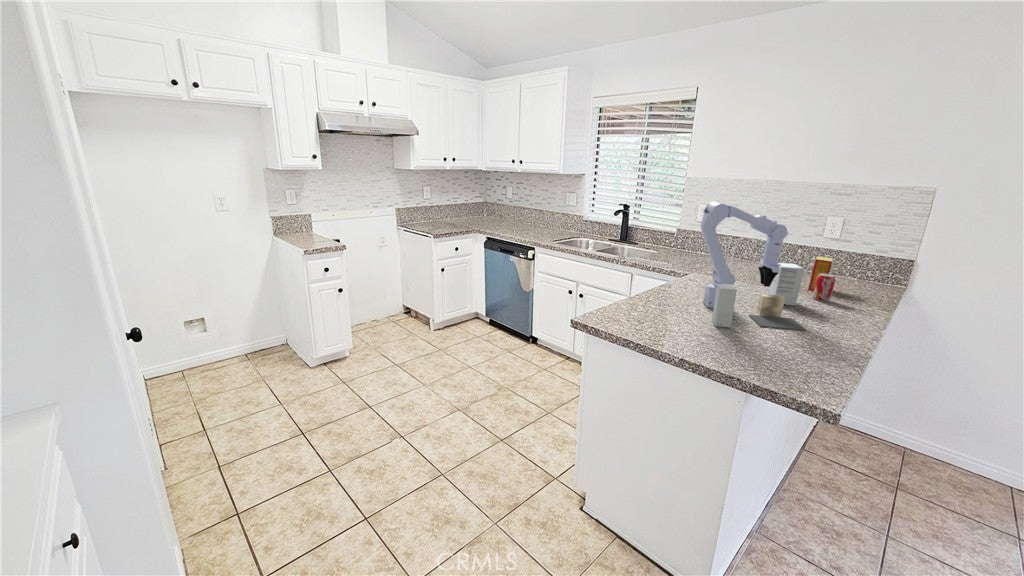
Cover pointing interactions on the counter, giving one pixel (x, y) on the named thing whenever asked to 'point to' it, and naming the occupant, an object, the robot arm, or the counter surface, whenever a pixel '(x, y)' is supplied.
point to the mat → (777, 322)
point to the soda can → (823, 287)
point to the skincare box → (724, 305)
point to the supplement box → (787, 283)
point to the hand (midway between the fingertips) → (765, 285)
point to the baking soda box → (820, 269)
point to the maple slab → (770, 305)
